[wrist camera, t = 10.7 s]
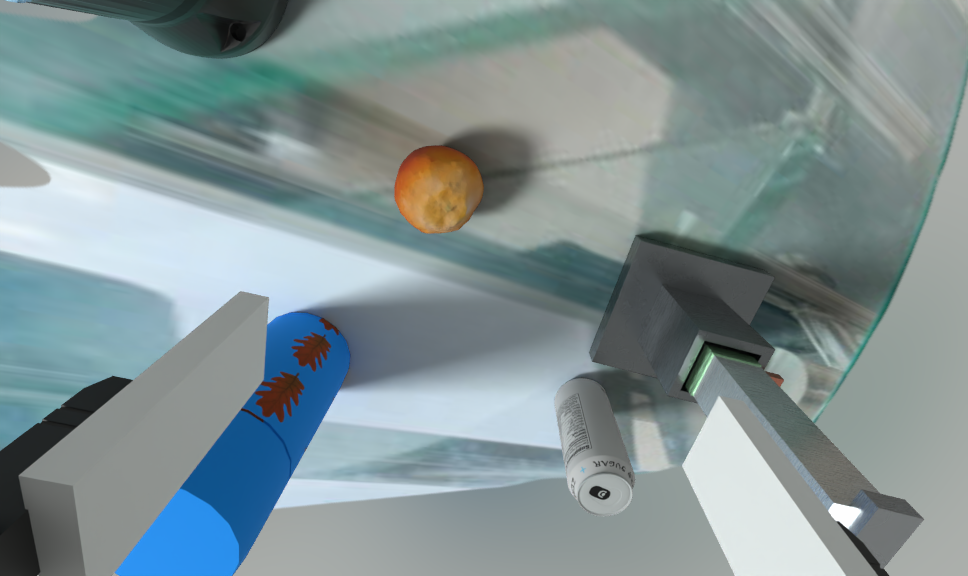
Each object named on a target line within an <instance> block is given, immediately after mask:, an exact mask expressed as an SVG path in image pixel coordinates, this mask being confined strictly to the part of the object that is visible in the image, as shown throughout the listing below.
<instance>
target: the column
mask: <svg viewBox="0 0 968 576" xmlns="http://www.w3.org/2000/svg"><path fill="white" fill-rule="evenodd" d="M761 366H762V365H761V364H760V363H759V362H758V361H757V360H756V359H755V358H754V357H752V356H750V355H749V354H748V353H747V352H746V351H743V350H739V349H735V348H731V347H727V346H724V345H720V344H716V343H712V342H708V341H704V343H703V345H702V347H701V349H700V351H699V353H698V355H697V357H696V359H695V361H694V363H693V365H692V367H691V369H690V371H689V373H688V375H687V377H686V379H685V381H684V382H685V383H686V388H687V390H688V391H689V393H690V394H691V396H694V398H695V399H696V401H697V402H698V404H699V405H700V407H701V409H702V410H703V412H704V413H705V415H706V417H707V418H708V416H709V414H710V412H711V410H712V408H713V407H714V405H715V403H716V401H717V399H718V397H719V396H723V397H727V398H732V399H736V400H741V401H744V402H745V404H746V405H747V406H748V407H749V409H750V410H751V411H752V413H753V414H754V415H755V417H756V418H757V419H758V420H759V422H760V423H761V424H762V426H763V427H764V428H765V430H766V431H767V432H768V433H769V435H770V436H771V437H772V439H773V440H774V441H775V443H776V444H777V445H778V446H779V448H780V449H781V450H782V452H783V453H784V454H785V456H786V457H787V458H788V459H789V461H790V462H791V463H792V465H793V466H794V467H795V469H796V470H797V471H798V472H799V474H800V475H801V476H802V478H803V479H804V480H805V482H806V483H807V484H808V485H809V487H810V488H811V489H812V491H813V492H814V493H815V495H816V496H817V497H818V498H819V500H820V501H821V502H822V504H823V505H824V506H825V507H826V509H827V510H828V511H829V513H830V514H831V515H832V517H833V518H834V519H835V520H836V521H840V522H841V523H842V524H843V525H844V526H845V527H846V528H847V529H849V530H850V531H851V532H852V533H853V534H854V535H855V536H856V537H858V538H859V539H860V540H861V541H862V542H863V543H864V544H865V546H866V547H867V548H868V549H869V551H870V552H871V553H872V555H873V556H874V557H875V558H876V560H877V561H878V562H879V563H880V568H882V569H883V568H884V567H885V566H886V565H887V564H888V562H889V561H890V560H891V559H892V557H893V556H894V555H895V554H896V553H897V551H898V550H899V549H900V548H901V546H902V545H903V544H904V543H905V542H906V541H907V539H908V538H909V537H910V536H911V534H912V533H913V532H914V531H915V530H916V528H917V527H918V526H919V525H920V523H921V522H922V521H923V520H924V519H923V518H922V517H921V516H920V515H919V514H918V513H917V512H916V511H915V510H914V509H913V507H911V506H910V504H909V503H907V502H906V500H904V499H900V498H896V497H892V496H887V495H883V494H880V493H879V492H878V491H877V489H876V488H875V487H874V486H873V485H872V484H871V483H870V482H869V481H868V480H867V479H866V478H865V477H864V476H863V475H862V474H861V473H860V471H858V469H857V468H856V467H855V466H854V465H853V464H852V463H851V462H850V461H849V460H848V459H847V458H846V457H845V456H844V455H843V454H842V453H841V451H840V450H839V449H838V448H837V447H836V446H835V445H834V444H833V443H832V442H831V441H830V440H829V439H828V438H827V437H826V436H825V435H824V434H823V432H822V431H821V430H820V429H819V428H818V427H817V426H816V425H815V424H814V423H813V422H812V421H811V420H810V419H809V418H808V416H807V415H806V414H805V413H804V412H803V411H802V410H801V409H800V408H799V407H798V406H797V405H796V404H795V403H794V402H793V401H792V400H791V398H790V397H789V396H788V395H787V394H786V393H785V392H784V391H783V390H782V389H781V388H780V387H779V386H778V385H777V384H776V383H775V382H774V380H773V379H772V378H771V377H770V376H769V375H768V374H767V373H766V372H765V371H764V370H763V369H762V368H761Z"/></svg>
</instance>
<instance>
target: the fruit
mask: <svg viewBox="0 0 968 576" xmlns="http://www.w3.org/2000/svg"><path fill="white" fill-rule="evenodd" d="M483 190H484V185H483V181H482V178H481V174H480V172H479V170H478V168H477V166H476V164H475V163H474V162H473V161H472V160H471V159H470V158H469V157H468V156H466V155H465V154H463V153H461V152H459V151H457V150H455V149H452V148H450V147H446V146H440V145H439V146H426V147H422V148H419V149H417V150H415V151H413V152H412V153H411V154H409V155H408V156H407V158H406V159H405V160H404V161H403V163H402V164H401V166H400V168H399V171H398V174H397V178H396V182H395V201H396V203H397V205H398V208H399V210H400V213H401V214H402V215H403V216H404V217H405V218H406V220H407V221H408V222H409V223H410V224H412V225H413V226H414V227H415V228H417V229H419V230H420V231H421V232H424V233H445V232H452V231H456V230H459V229H460V228H461V227H462V226H463V225H464V224H465V223H466V222H467V221H469V219H470V218H471V216H472V214H473V212H474V211H475V209H476V208H477V206H478V205H479V203H480V201H481V199H482V196H483Z"/></svg>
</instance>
